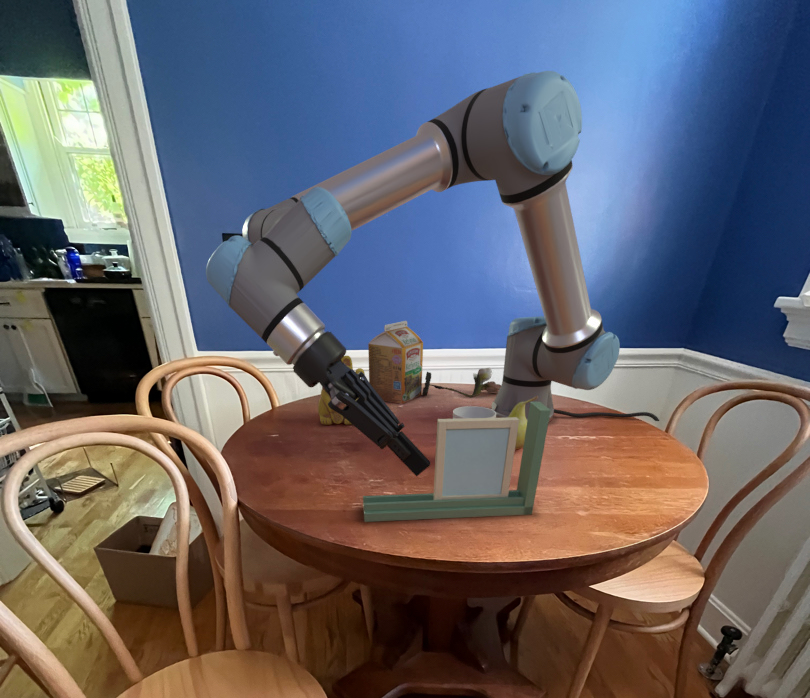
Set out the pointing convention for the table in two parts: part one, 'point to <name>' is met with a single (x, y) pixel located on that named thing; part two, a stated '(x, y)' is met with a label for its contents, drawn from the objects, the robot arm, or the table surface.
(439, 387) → the artificial flower
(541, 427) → the green l-shaped bracket
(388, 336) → the milk carton
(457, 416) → the cup
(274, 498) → the table surface
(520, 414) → the fruit
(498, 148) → the robot arm
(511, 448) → the window pane
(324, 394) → the figurine
